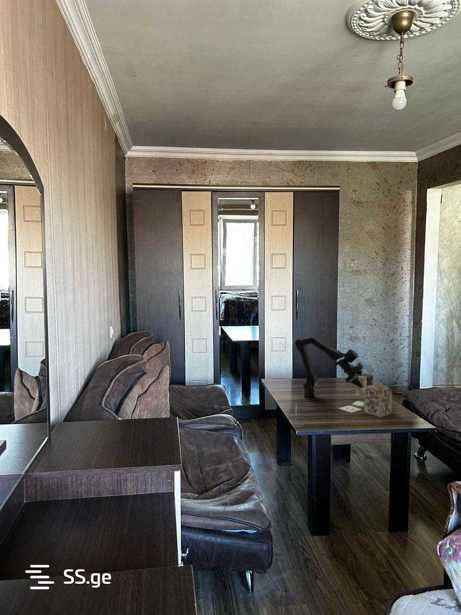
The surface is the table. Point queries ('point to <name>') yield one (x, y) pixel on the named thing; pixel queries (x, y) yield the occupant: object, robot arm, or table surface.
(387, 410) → the decorative jar
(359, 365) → the robot arm
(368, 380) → the coffee can
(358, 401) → the coaster
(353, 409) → the white tile
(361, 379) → the birch block
